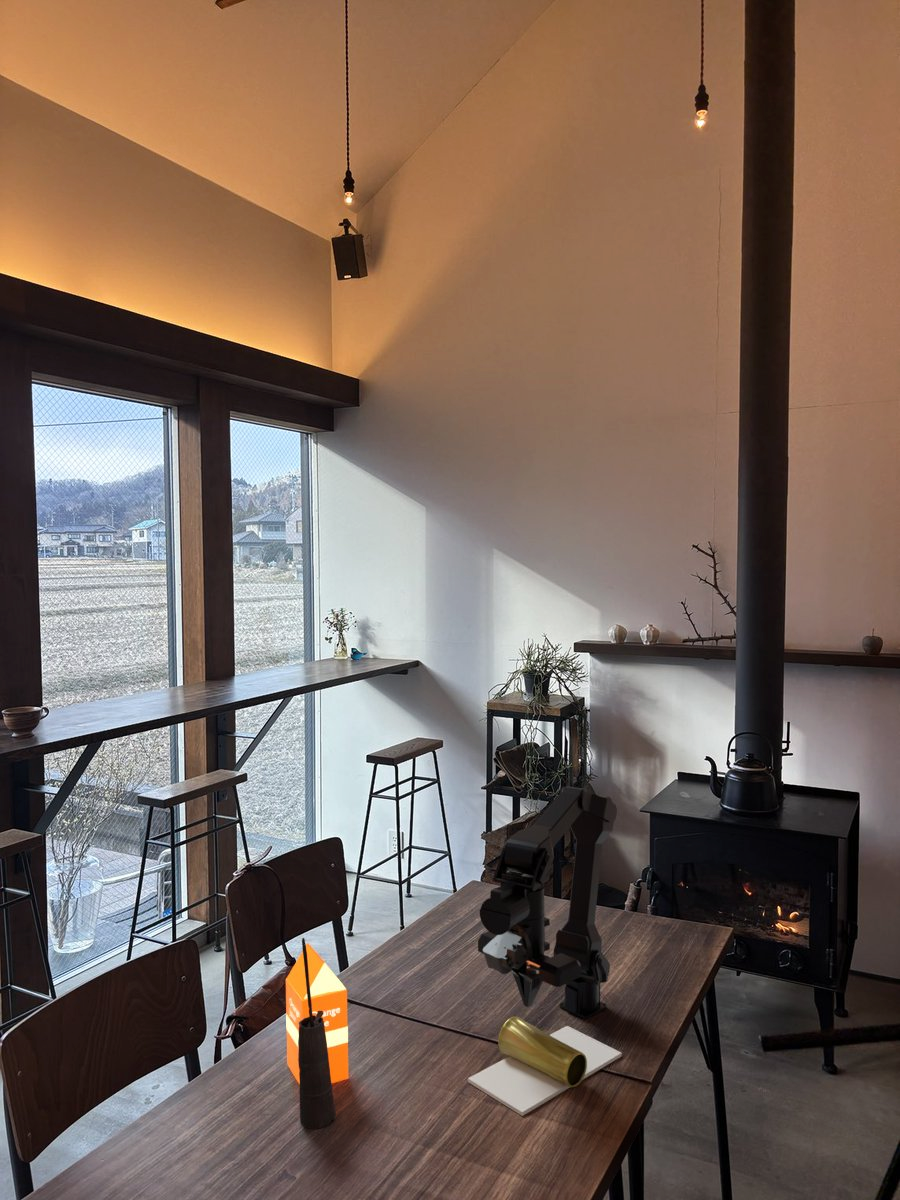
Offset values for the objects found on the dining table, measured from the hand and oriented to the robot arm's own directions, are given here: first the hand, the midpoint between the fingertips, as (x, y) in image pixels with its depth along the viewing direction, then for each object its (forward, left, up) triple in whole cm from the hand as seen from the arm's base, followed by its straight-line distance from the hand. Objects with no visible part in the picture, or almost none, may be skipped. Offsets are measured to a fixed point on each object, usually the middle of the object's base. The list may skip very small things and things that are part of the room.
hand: (527, 1005), depth 148 cm
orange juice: (+28, -21, -9) cm, 36 cm away
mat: (0, +4, -9) cm, 10 cm away
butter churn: (+34, -11, -9) cm, 37 cm away
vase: (+1, -3, -6) cm, 7 cm away
